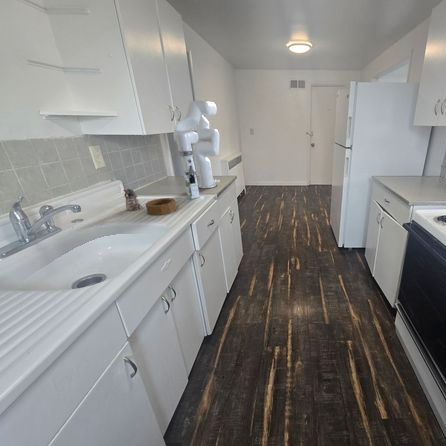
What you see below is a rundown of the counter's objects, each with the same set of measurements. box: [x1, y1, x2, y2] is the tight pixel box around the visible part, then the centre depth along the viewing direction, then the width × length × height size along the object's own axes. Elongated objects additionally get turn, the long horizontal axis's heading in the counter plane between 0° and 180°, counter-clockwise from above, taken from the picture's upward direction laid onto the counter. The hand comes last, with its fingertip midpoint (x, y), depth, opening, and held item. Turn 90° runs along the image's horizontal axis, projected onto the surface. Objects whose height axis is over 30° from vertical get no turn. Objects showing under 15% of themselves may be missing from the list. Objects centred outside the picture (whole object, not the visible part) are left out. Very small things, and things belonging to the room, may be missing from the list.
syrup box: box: [183, 174, 200, 200], centre depth 163 cm, size 6×6×14 cm
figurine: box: [123, 188, 142, 212], centre depth 144 cm, size 7×7×12 cm
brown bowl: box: [144, 197, 178, 216], centre depth 142 cm, size 15×15×5 cm
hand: (191, 182), depth 162 cm, fingers closed on syrup box, 6 cm apart
